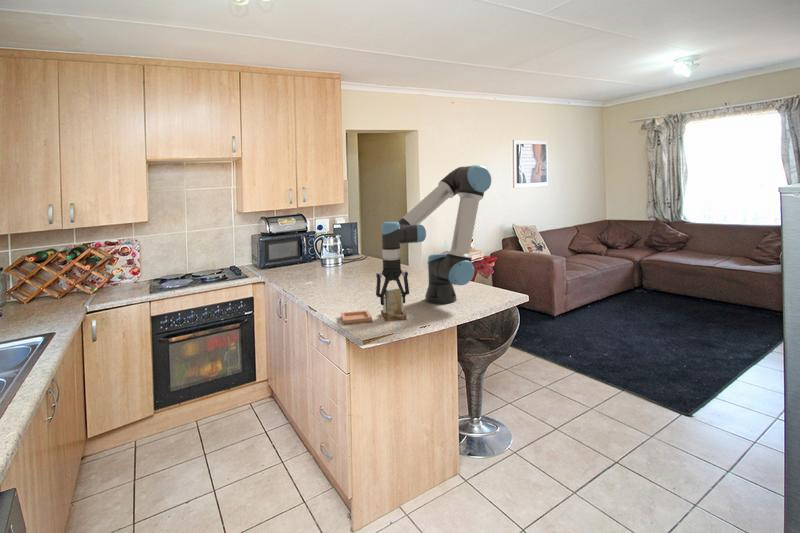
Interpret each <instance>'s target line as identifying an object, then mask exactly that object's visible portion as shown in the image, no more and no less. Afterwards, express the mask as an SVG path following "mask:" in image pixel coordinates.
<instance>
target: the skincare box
mask: <svg viewBox="0 0 800 533" xmlns="http://www.w3.org/2000/svg"><path fill="white" fill-rule="evenodd" d="M401 295H402V294H401V290H400V289H399V287H396V288H395V287H394V288H387V289H386V292H385V295H384V297H385V298H386V315H387V316H394V315H401Z"/></svg>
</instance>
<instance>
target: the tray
mask: <svg viewBox="0 0 800 533" xmlns="http://www.w3.org/2000/svg"><path fill="white" fill-rule="evenodd" d="M340 318H341V322H342V325H343V326H350V325H359V324H361V325H362V324H370V323H373V316H372V315H371V312H370V311H369V310H357V311H343V312H340Z"/></svg>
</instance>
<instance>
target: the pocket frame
mask: <svg viewBox="0 0 800 533" xmlns="http://www.w3.org/2000/svg"><path fill="white" fill-rule="evenodd" d="M380 315H381V316H382V318H383V320H384V322H396V321H405V320H406V321H407V319H408V316H407V314H406V312H405V311H404V310H403V311H401V315H394V316H387V315H386V313H384V312H383V309H381V310H380Z"/></svg>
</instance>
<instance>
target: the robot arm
mask: <svg viewBox="0 0 800 533" xmlns="http://www.w3.org/2000/svg"><path fill="white" fill-rule="evenodd" d="M491 185H492V175H491V173H490V171H489V169H488V168H487V167H485V166H483V165H479V164H478V165H476V164H474V165H469V166H468V165H467V166H459V167H457V168H455V169H453V170H452V171H451V172H448V174H446V176H444V177H443V178H442V179H441V180H440V181H439V182H438V183H437V186H436V187H435V188H434V189H432V191H431V192H430V193H428V194H427V195H426V196H425V197H424V198H423V199H421V200H420V202H418V204H416V205H415V206H414V207H413V208H411V210H409V211H408V212H407V213H406V214H405V215H404V216H403V217H402V218H400V219H399V220H398V221H384V222H382V224H381V231H380V232H381V244H382V248H381V249H382V271H381V272H379V273H378V272H376V273H375V277H376V286H375V287H376V288H375V289H376V290H375V296H376V297H377V298H380V305H381V306H382V310H383V312H384V313H386V298H385V292H386V289H388V285H389V282H392V281H393V282H394V281H396V284H397V288H398V289H400V290H401V311H403V312H404V304H406V296H408V295H410V287H409V286H410V285H409V280H408V276H409V272H408V271H406V270H402V267H401V265H402V264H401V245H403V244H414V243H416V244H418V243H423V242H424V241H425V240H426V237H427V231H426V227H425V226H424V225H422V224H421V223H423V222H424V221H425V220H426V219H427V218H428V217H429V216H430V215H431V214H433V212H435V211H436V210H437V209H438V208H439V207H441V205H442V204H444V203H445V202H446V201H447V200H448V199H453V198H454V197H455V196H456V195H458V196H459V203H458V209H457V214H456V218H455V225H454V230H453V236H452V241H451V246H450V250H449V251H447V252H446V253H445V252H443V253H436V254H435V253H433V254H430V255H428V259H427V266H428V267H427V269H428V272H427V273H428V275H427V276H428V286H427V290H426V292H425V295H424V296H425V297H424V298H425V299H424V300H425V302H427V303H431V304H436V305H437V304H439V305H441V304H443V305H444V304H451V303H455V302H456V301H457V294H456V290H455V288H454V286H455V285H456V286H465V285H467V284H468V283H470V282H471V281H472V279H473V278H474V276H475V267H474V265H473V263H472V261H473V260H472V259H473V257H472V255H471V253H470V252H471V245H472V241H473V238H474V237H473V235H474V232H475V231H474V230H475V225H476V221H477V214H478V208H479V203H480V201H481V200H482V199H484V195H485V193H486V192H487V191H488V190H489V189H490V187H491ZM383 276H384V282H383V286H382V288H381V284H382V283H381V282H382V281H381V279H382V277H383ZM401 276H402V277H403V278H402V279H403V283H404V288H403V286H402V282H401V280H400V277H401Z"/></svg>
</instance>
